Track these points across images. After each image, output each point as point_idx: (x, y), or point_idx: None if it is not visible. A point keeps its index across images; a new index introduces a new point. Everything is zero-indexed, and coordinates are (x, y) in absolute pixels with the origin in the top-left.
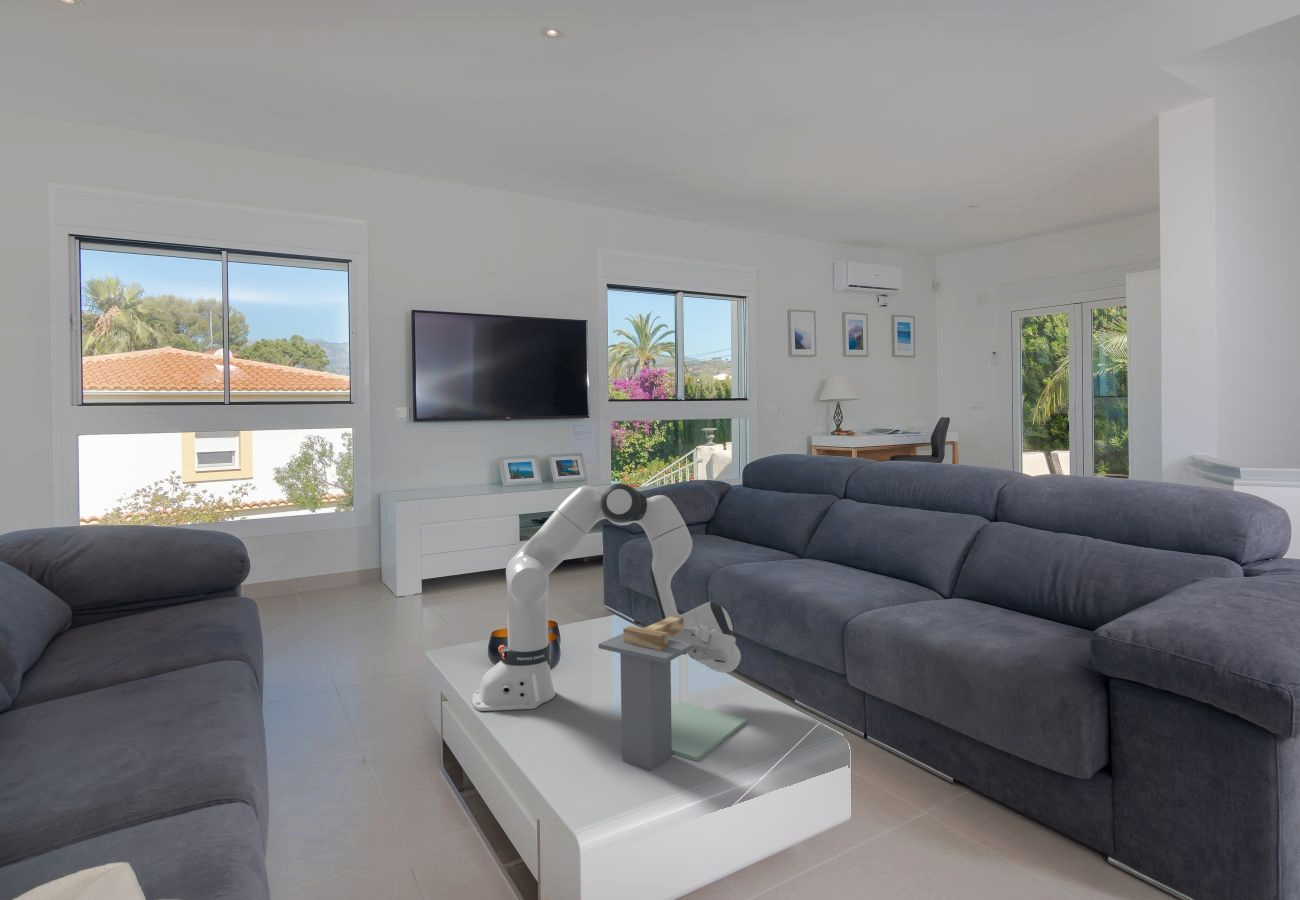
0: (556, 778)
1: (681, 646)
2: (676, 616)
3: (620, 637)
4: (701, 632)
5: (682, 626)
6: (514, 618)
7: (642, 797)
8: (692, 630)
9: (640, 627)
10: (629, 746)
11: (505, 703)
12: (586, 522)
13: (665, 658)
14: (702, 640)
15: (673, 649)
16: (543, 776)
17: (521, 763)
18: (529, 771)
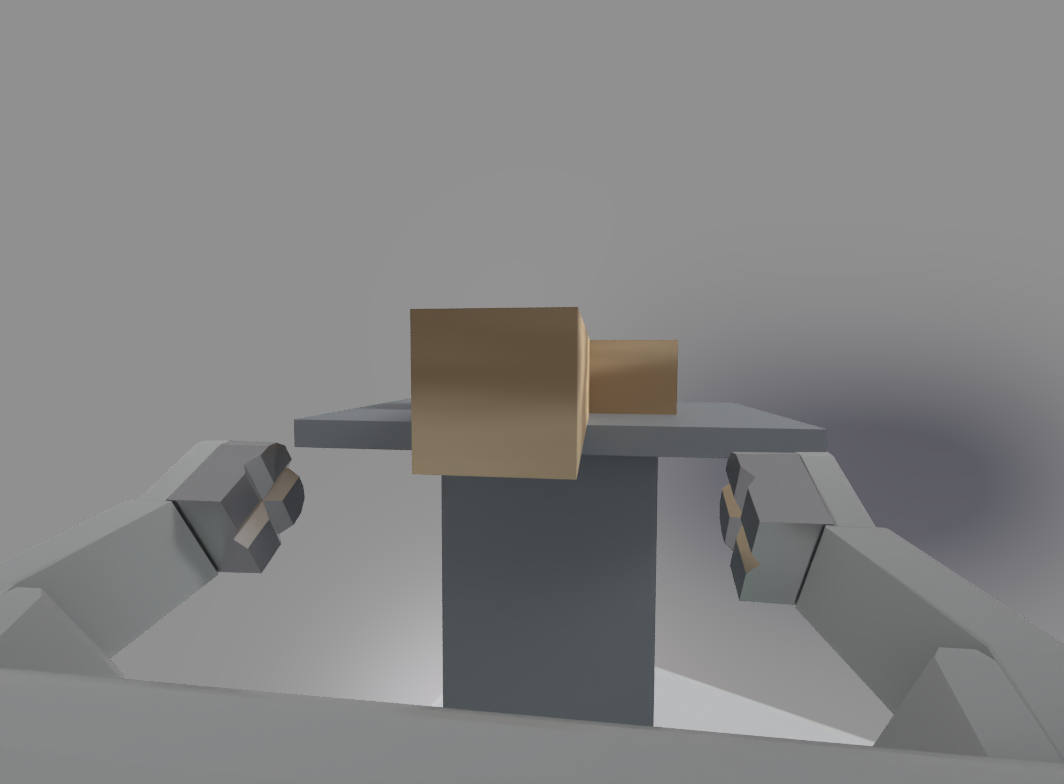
0: (715, 722)
1: (362, 413)
2: (511, 309)
3: (740, 414)
4: (139, 513)
5: (420, 421)
6: None
7: None
8: (285, 455)
9: (611, 340)
10: None
11: None
12: None
13: (408, 399)
14: (129, 628)
15: (397, 407)
16: (750, 717)
17: (869, 741)
18: (803, 721)
